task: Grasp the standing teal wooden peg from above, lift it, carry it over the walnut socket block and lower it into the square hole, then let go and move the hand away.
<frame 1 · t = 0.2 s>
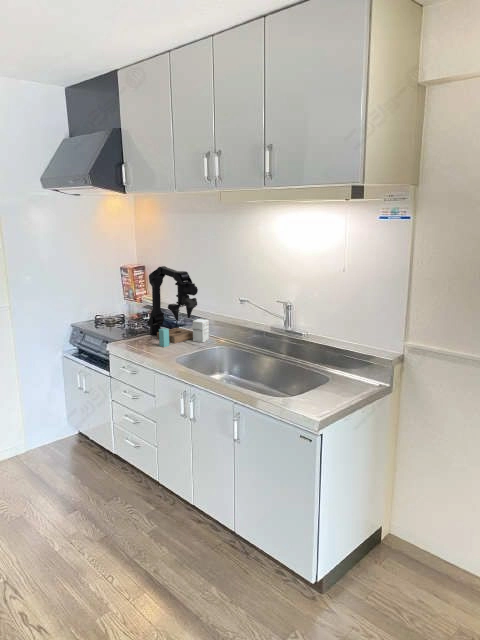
hand: (183, 319, 283), 14 cm above the counter, tool pointing down, fingers open, 9 cm apart
teal peg: (164, 345, 280), on the counter
walnut socket: (175, 338, 295), on the counter
supplement box: (201, 340, 291), on the counter
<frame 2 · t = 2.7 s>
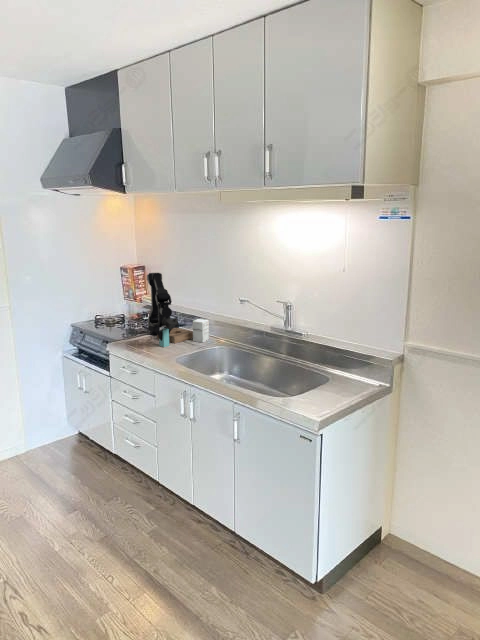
hand: (164, 339, 279), 4 cm above the counter, tool pointing down, fingers closed on teal peg, 4 cm apart
teal peg: (164, 345, 280), on the counter, touching gripper
everything else where it was.
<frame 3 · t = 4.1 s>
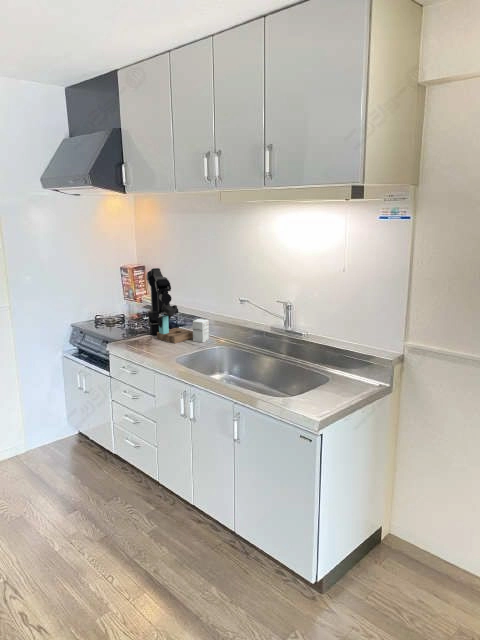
hand: (163, 326, 277), 11 cm above the counter, tool pointing down, fingers closed on teal peg, 4 cm apart
teal peg: (164, 332, 278), point 8 cm above the counter, touching gripper
everything else where it was.
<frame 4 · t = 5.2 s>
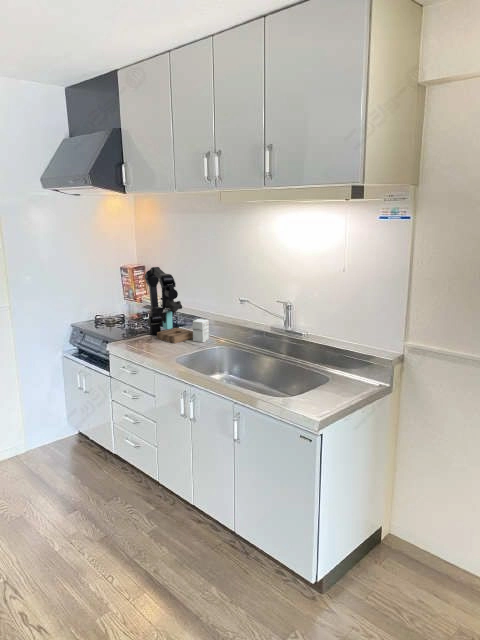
hand: (167, 322, 282), 13 cm above the counter, tool pointing down, fingers closed on teal peg, 4 cm apart
teal peg: (167, 328, 283), point 9 cm above the counter, touching gripper
everything else where it was.
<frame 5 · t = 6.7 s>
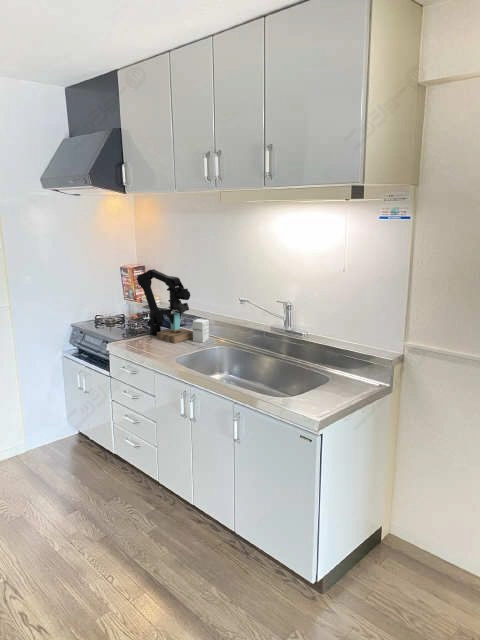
hand: (175, 323, 293), 10 cm above the counter, tool pointing down, fingers closed on teal peg, 4 cm apart
teal peg: (175, 329, 294), point 6 cm above the counter, touching gripper
everything else where it was.
when the fingers open (6 cm above the counter, at t = 8.1 s): teal peg drops 1 cm, resting on walnut socket.
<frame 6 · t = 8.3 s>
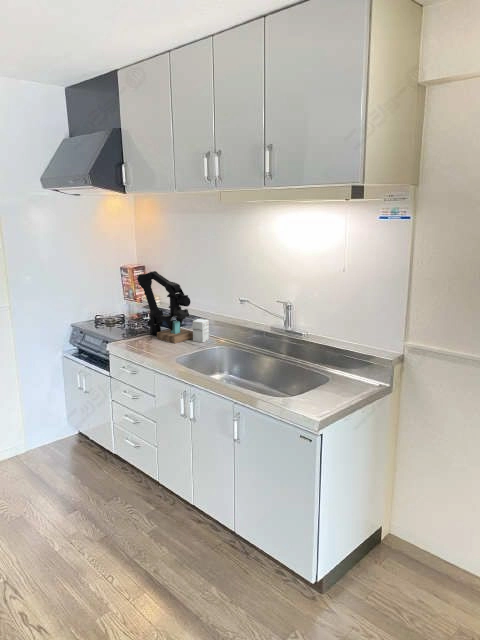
hand: (175, 329, 294), 6 cm above the counter, tool pointing down, fingers open, 6 cm apart
teal peg: (175, 337, 295), point 1 cm above the counter, touching walnut socket
everything else where it was.
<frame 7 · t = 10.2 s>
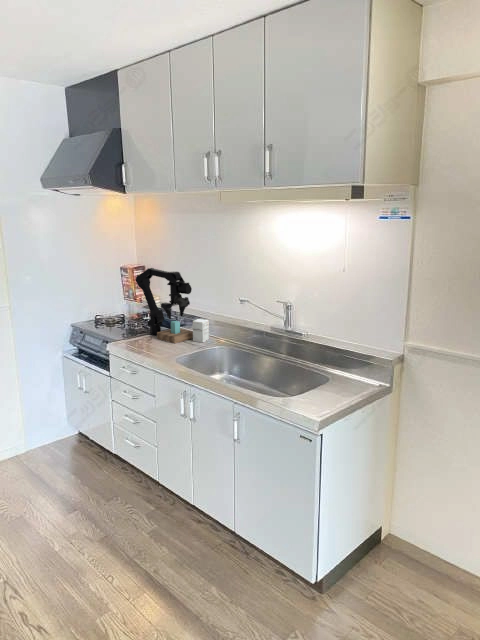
hand: (175, 317, 294), 13 cm above the counter, tool pointing down, fingers open, 9 cm apart
nothing on the counter moved.
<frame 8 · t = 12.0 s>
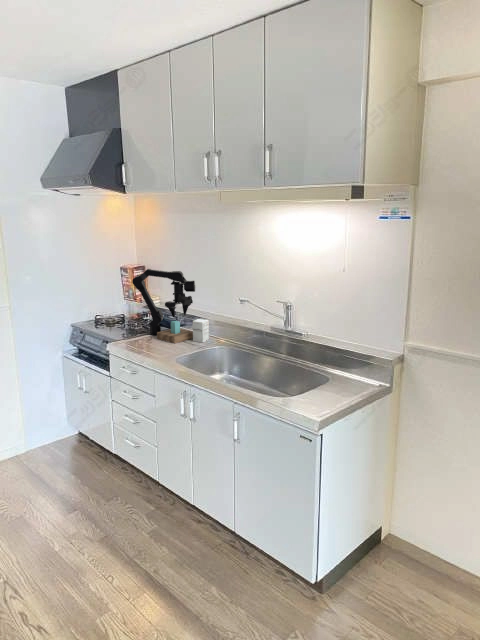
hand: (179, 316, 302), 12 cm above the counter, tool pointing down, fingers open, 9 cm apart
nothing on the counter moved.
at the end: teal peg 0.0 cm off-centre on the walnut socket, point 0.6 cm above the walnut socket's base; teal peg tilted 0°; the gripper is holding nothing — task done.
